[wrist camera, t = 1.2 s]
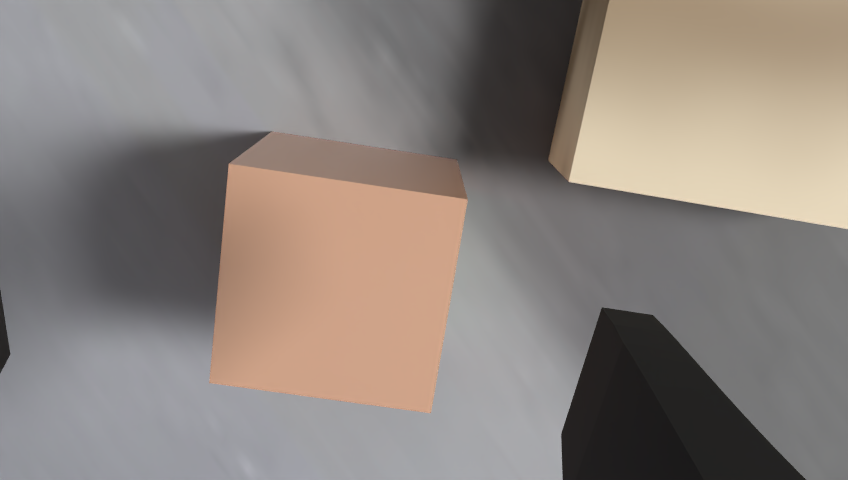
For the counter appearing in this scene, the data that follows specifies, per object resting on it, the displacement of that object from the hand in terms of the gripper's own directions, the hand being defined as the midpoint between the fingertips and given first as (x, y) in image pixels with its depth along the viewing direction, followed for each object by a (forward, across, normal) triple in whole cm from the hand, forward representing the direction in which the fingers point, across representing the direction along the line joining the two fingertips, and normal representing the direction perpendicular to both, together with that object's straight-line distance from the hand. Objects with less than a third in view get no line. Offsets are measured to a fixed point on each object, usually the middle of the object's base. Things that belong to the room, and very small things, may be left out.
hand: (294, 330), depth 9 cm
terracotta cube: (+9, 0, +4) cm, 10 cm away
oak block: (+11, -8, -2) cm, 14 cm away
